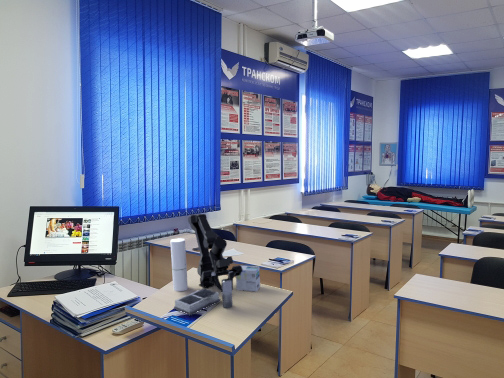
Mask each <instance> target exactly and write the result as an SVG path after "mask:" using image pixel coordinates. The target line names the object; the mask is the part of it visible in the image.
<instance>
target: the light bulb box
mask: <svg viewBox="0 0 504 378" xmlns="http://www.w3.org/2000/svg"><path fill="white" fill-rule="evenodd" d="M239 265H240V266H242V269H243V270H242V272H241V274H240V275H239V276H235V280H236V281H235V283H236V285H235V286H236V291H243V290H244V292H258V291H259V289H260V288H261V276H260V275H261V274H260V272H261V271H260V266H259V265H258V266H256V265H255V266H254V265H241V264H239Z"/></svg>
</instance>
